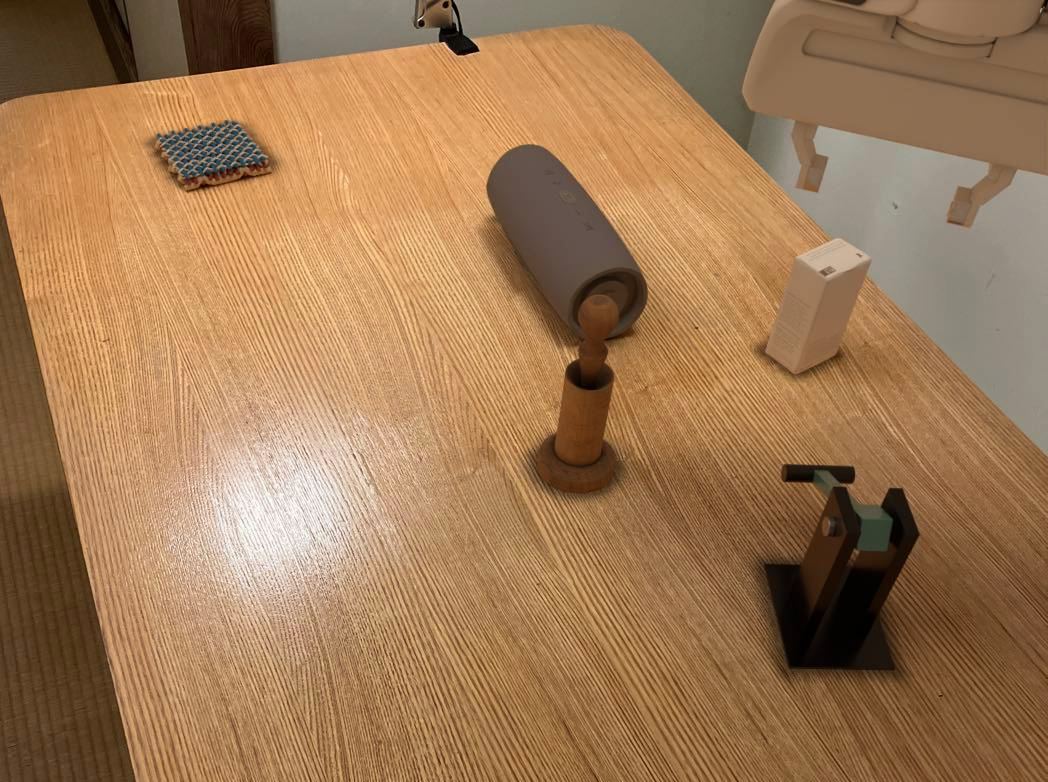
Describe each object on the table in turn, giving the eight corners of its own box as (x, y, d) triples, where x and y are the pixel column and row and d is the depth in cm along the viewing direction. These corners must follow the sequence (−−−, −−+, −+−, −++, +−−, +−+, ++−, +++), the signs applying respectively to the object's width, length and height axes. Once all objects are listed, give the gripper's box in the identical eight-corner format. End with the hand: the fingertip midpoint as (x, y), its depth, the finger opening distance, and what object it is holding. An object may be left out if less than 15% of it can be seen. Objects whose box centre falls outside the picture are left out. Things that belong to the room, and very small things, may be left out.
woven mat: (184, 195, 117) (181, 178, 116) (153, 150, 123) (150, 133, 122) (274, 175, 121) (273, 158, 120) (240, 132, 127) (238, 115, 126)
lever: (779, 484, 86) (783, 455, 85) (846, 486, 86) (851, 457, 85) (832, 550, 74) (838, 518, 73) (910, 552, 74) (917, 520, 73)
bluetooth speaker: (645, 343, 105) (662, 254, 98) (557, 359, 102) (567, 269, 95) (559, 219, 119) (568, 133, 111) (479, 230, 116) (483, 144, 109)
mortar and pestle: (572, 513, 89) (599, 338, 76) (520, 470, 92) (537, 294, 79) (628, 479, 92) (663, 305, 79) (576, 438, 95) (601, 263, 82)
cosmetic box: (802, 339, 107) (837, 232, 98) (836, 364, 105) (875, 256, 96) (759, 360, 104) (791, 252, 95) (793, 386, 102) (829, 278, 93)
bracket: (760, 573, 86) (803, 457, 76) (858, 575, 86) (912, 460, 77) (784, 676, 79) (834, 564, 70) (890, 678, 80) (954, 566, 70)
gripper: (1166, -13, 58) (1052, 217, 68) (788, -83, 61) (735, 145, 72) (1173, 32, 53) (1052, 270, 64) (768, -46, 57) (715, 191, 67)
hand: (882, 203), depth 68 cm, fingers open, 8 cm apart
